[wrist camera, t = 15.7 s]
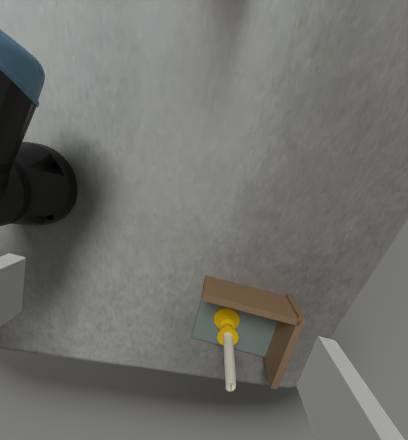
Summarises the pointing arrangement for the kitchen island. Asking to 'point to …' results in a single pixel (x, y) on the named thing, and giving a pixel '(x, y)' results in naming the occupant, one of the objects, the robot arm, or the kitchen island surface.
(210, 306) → the open room model
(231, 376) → the candle
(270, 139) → the kitchen island surface
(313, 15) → the kitchen island surface
